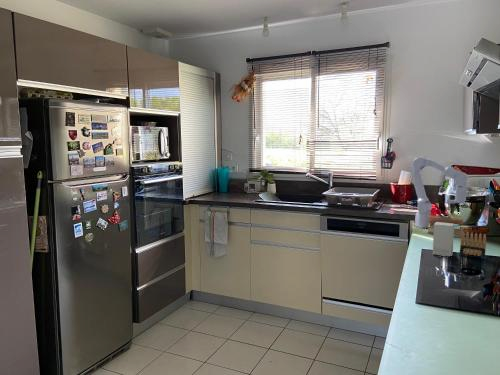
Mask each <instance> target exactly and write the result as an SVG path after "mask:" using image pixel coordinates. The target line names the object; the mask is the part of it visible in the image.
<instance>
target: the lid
mask: <svg viewBox="0 0 500 375" xmlns="http://www.w3.org/2000/svg"><path fill="white" fill-rule="evenodd" d="M464 221H465V220H464V217H463V218H461V217H452V216H450V217H449V216H438V215H431V216H429V222H430V223H436V222H442V223H453V224H462V225H463V223H464Z"/></svg>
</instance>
